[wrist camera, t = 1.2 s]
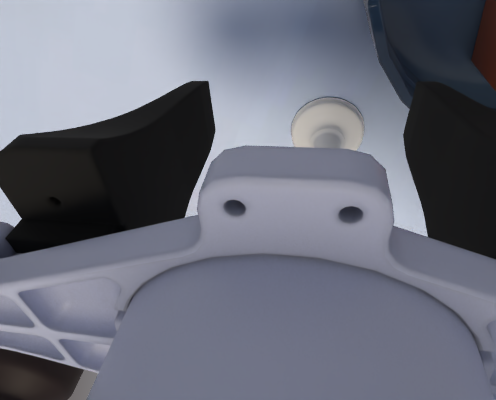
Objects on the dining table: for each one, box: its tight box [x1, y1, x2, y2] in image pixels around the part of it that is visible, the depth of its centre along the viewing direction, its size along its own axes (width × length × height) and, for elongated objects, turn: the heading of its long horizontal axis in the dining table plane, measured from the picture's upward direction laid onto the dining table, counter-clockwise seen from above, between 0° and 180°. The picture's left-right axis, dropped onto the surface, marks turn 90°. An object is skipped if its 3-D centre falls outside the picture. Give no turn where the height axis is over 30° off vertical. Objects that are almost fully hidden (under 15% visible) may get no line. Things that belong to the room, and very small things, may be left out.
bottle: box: [0, 348, 84, 400], centre depth 28 cm, size 7×7×20 cm
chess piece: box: [291, 97, 364, 151], centre depth 21 cm, size 5×5×10 cm
